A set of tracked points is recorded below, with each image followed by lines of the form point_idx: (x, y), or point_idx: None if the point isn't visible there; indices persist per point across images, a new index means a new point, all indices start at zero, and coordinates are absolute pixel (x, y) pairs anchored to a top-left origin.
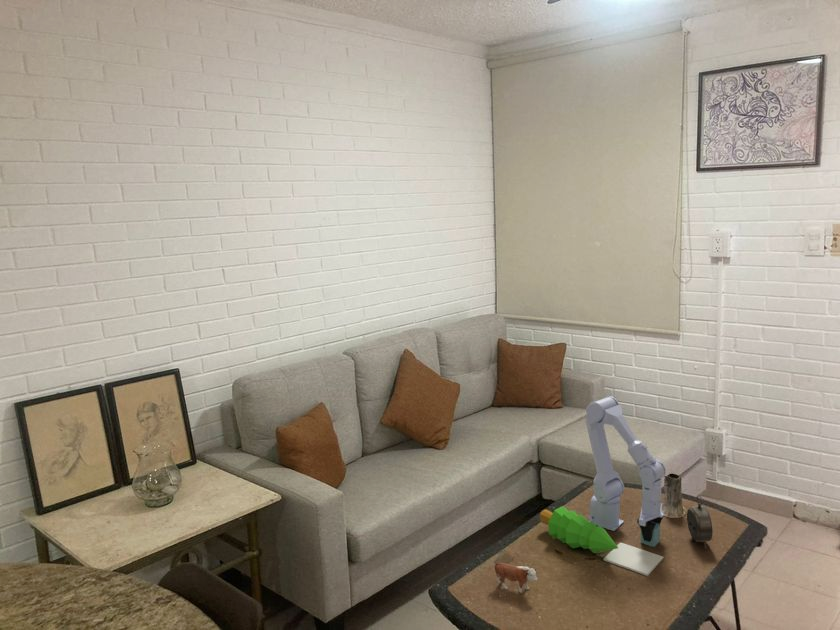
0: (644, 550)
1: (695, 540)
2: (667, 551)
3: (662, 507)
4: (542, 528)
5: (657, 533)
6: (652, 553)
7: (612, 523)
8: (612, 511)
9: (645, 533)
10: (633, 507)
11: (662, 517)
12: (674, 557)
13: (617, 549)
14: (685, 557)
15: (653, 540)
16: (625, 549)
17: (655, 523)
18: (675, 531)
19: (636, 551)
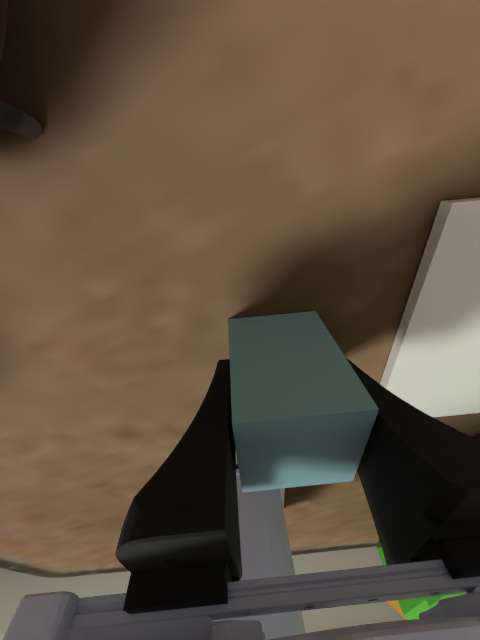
0: (408, 328)
1: (7, 14)
2: (324, 223)
3: (12, 635)
4: (376, 535)
5: (285, 364)
6: (428, 281)
7: (269, 496)
8: (280, 575)
9: None
10: (52, 496)
11: (221, 514)
12: (391, 129)
13: (443, 406)
14: (347, 22)
15: (329, 341)
16: (432, 388)
17: (249, 448)
18: (31, 305)
19: (436, 350)
